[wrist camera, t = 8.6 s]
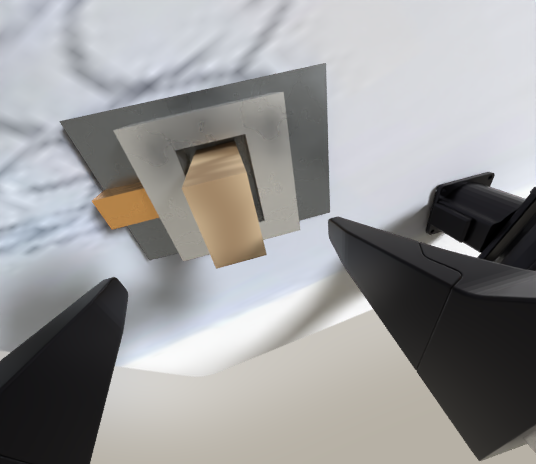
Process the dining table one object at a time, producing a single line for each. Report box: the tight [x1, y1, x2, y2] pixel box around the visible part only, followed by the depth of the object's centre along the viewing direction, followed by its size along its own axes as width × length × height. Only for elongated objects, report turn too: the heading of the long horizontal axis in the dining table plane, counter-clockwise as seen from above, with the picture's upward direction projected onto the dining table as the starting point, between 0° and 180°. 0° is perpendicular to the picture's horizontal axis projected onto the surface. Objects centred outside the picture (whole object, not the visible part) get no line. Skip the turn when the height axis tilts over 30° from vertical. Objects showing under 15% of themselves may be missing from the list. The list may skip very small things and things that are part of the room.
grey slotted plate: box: [59, 63, 330, 261], centre depth 17 cm, size 18×12×4 cm, turn 101°
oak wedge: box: [182, 141, 266, 269], centre depth 15 cm, size 3×5×8 cm, turn 11°
